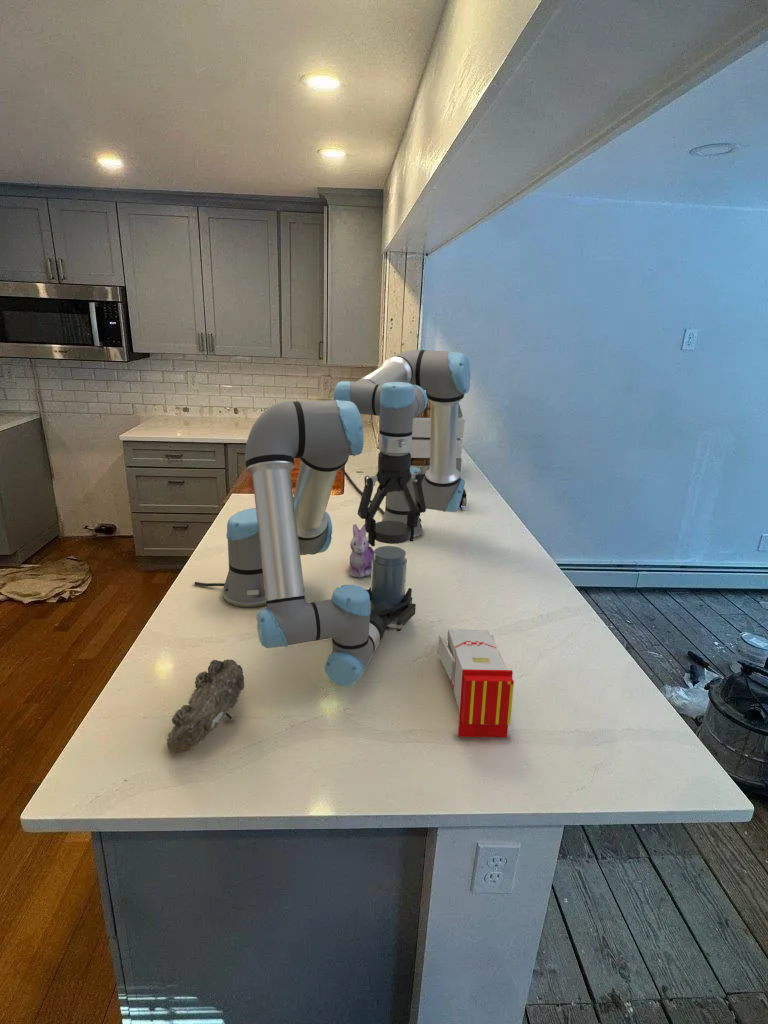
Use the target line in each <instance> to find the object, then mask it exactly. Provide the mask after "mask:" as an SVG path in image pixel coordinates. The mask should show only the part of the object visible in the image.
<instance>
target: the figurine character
mask: <svg viewBox="0 0 768 1024" xmlns="http://www.w3.org/2000/svg"><path fill="white" fill-rule="evenodd" d="M467 503H468V498H467V492H466V489H465V488H464V490H463V494H462V498H461V502H460V505H459V507H458V509H460V511H463V507H464V508H465V507H467Z"/></svg>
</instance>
